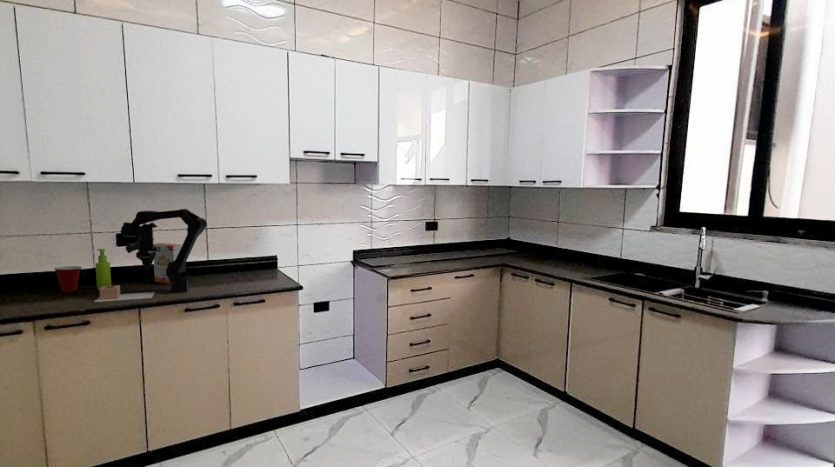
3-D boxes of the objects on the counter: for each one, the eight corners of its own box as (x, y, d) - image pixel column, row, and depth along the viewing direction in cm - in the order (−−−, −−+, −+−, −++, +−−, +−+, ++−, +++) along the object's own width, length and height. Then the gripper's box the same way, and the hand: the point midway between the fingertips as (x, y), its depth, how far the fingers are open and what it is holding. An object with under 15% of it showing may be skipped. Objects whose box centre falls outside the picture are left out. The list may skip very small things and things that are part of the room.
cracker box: (153, 282, 236) (152, 243, 233) (163, 280, 242) (161, 242, 239) (174, 285, 232) (172, 245, 229) (183, 282, 237) (182, 244, 235)
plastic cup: (89, 288, 220) (87, 265, 219) (68, 294, 209) (66, 269, 208) (71, 287, 222) (69, 263, 221) (49, 292, 211) (47, 268, 210)
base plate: (155, 294, 213) (155, 292, 213) (151, 299, 203) (151, 297, 203) (100, 297, 204) (100, 295, 204) (94, 304, 194) (93, 301, 194)
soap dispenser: (108, 286, 226) (106, 247, 223) (113, 288, 221) (110, 249, 219) (94, 288, 221) (92, 249, 219) (99, 290, 217) (96, 250, 214)
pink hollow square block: (120, 295, 205) (119, 285, 205) (117, 298, 200) (117, 288, 199) (103, 296, 203) (102, 286, 202) (100, 300, 197) (99, 289, 197)
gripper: (130, 235, 217) (132, 266, 219) (122, 240, 200) (124, 273, 202) (156, 234, 221) (157, 264, 223) (150, 239, 204) (152, 272, 206)
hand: (147, 268), depth 213 cm, fingers open, 9 cm apart
